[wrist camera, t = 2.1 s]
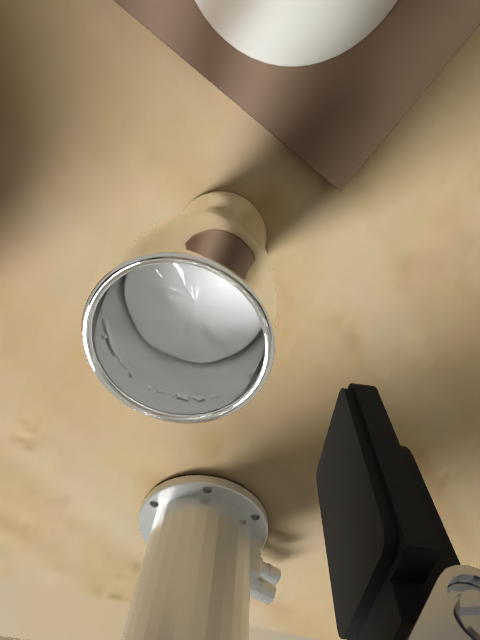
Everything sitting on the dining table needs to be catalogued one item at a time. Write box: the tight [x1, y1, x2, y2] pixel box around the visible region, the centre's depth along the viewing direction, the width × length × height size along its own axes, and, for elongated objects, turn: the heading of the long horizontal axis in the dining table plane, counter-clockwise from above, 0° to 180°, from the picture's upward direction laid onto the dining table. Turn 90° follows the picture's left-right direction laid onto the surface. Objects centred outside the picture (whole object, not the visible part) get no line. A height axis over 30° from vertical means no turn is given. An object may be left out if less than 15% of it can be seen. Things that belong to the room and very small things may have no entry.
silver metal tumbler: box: [81, 191, 278, 423], centre depth 20 cm, size 7×7×15 cm
